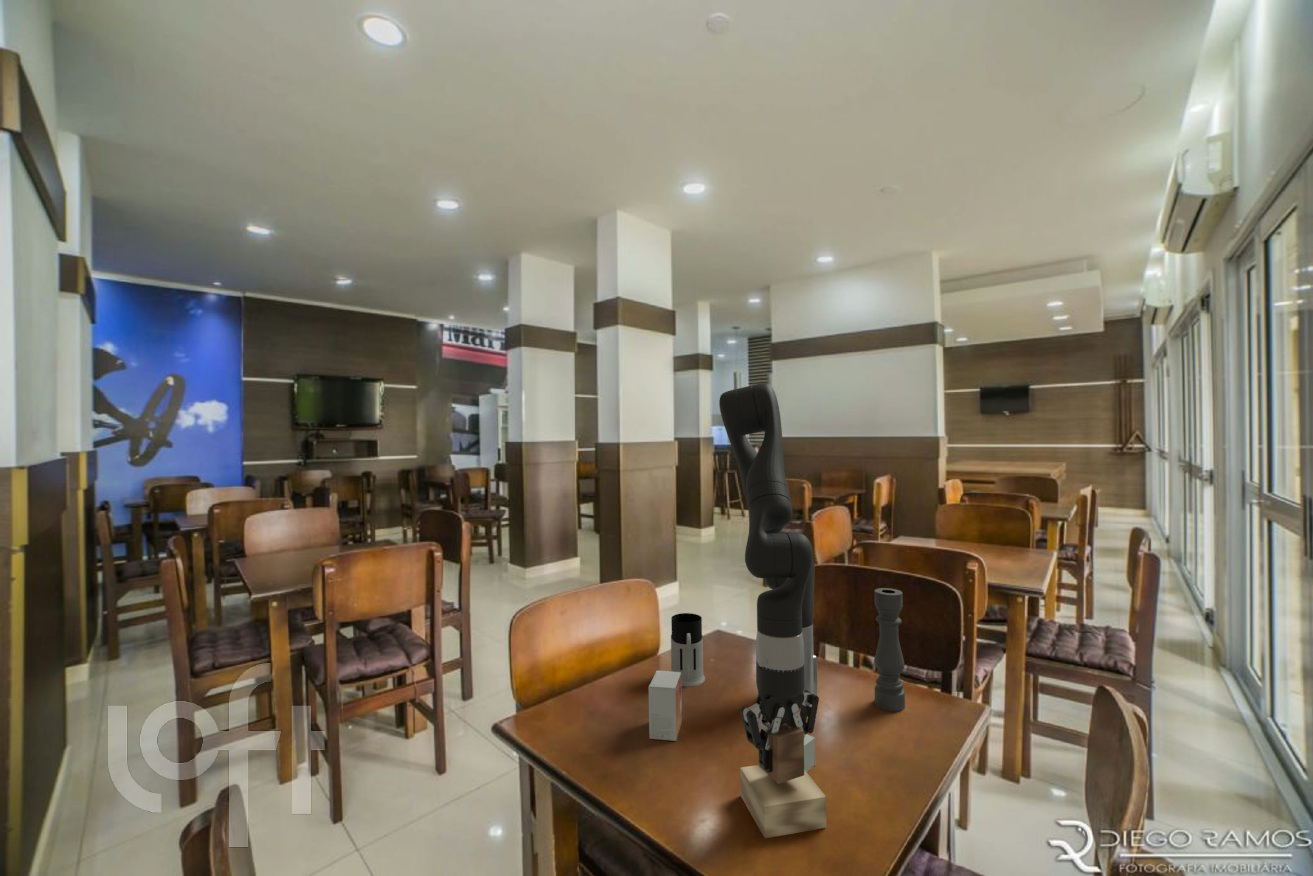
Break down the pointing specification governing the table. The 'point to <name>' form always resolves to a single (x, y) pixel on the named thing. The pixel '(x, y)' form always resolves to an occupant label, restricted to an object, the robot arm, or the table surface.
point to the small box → (665, 705)
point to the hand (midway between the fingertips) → (781, 764)
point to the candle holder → (889, 651)
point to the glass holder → (687, 648)
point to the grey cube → (809, 752)
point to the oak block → (782, 802)
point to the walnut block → (787, 754)
